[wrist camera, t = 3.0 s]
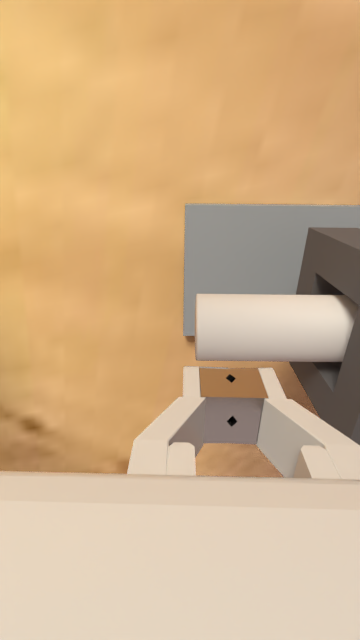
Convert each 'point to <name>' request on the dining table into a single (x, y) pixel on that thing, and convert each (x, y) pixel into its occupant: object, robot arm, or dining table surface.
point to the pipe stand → (260, 284)
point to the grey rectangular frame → (356, 369)
